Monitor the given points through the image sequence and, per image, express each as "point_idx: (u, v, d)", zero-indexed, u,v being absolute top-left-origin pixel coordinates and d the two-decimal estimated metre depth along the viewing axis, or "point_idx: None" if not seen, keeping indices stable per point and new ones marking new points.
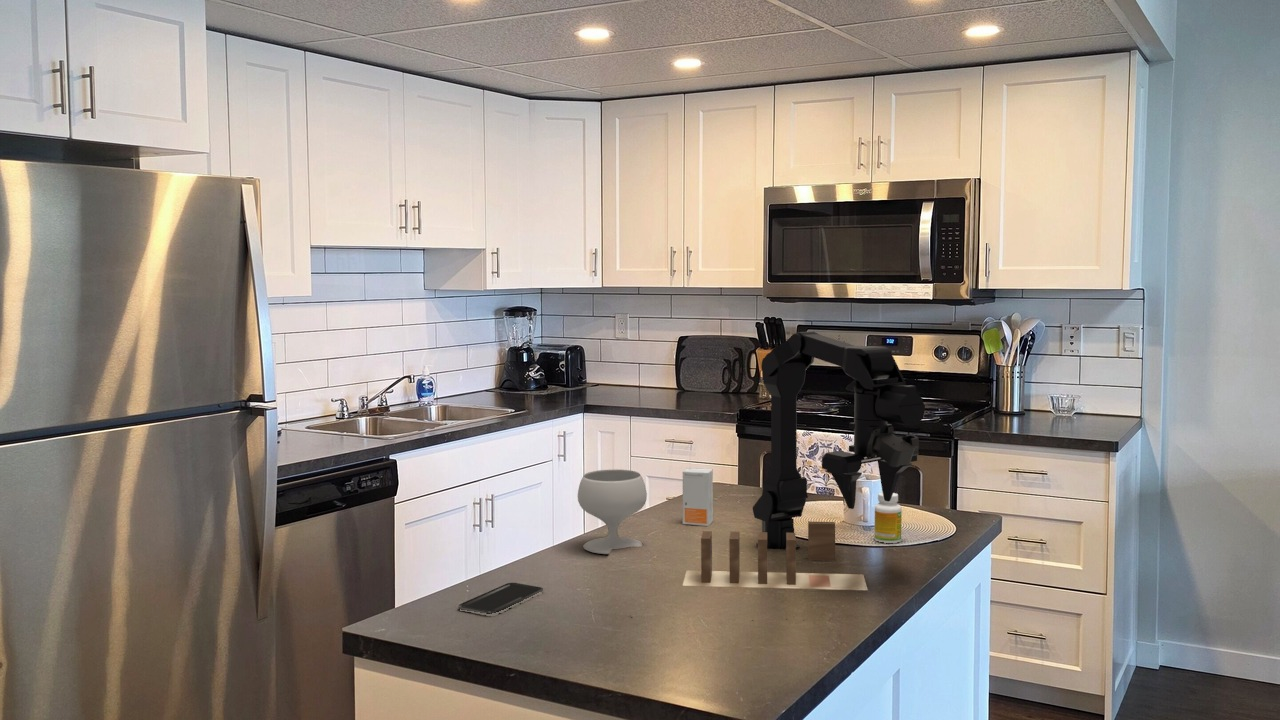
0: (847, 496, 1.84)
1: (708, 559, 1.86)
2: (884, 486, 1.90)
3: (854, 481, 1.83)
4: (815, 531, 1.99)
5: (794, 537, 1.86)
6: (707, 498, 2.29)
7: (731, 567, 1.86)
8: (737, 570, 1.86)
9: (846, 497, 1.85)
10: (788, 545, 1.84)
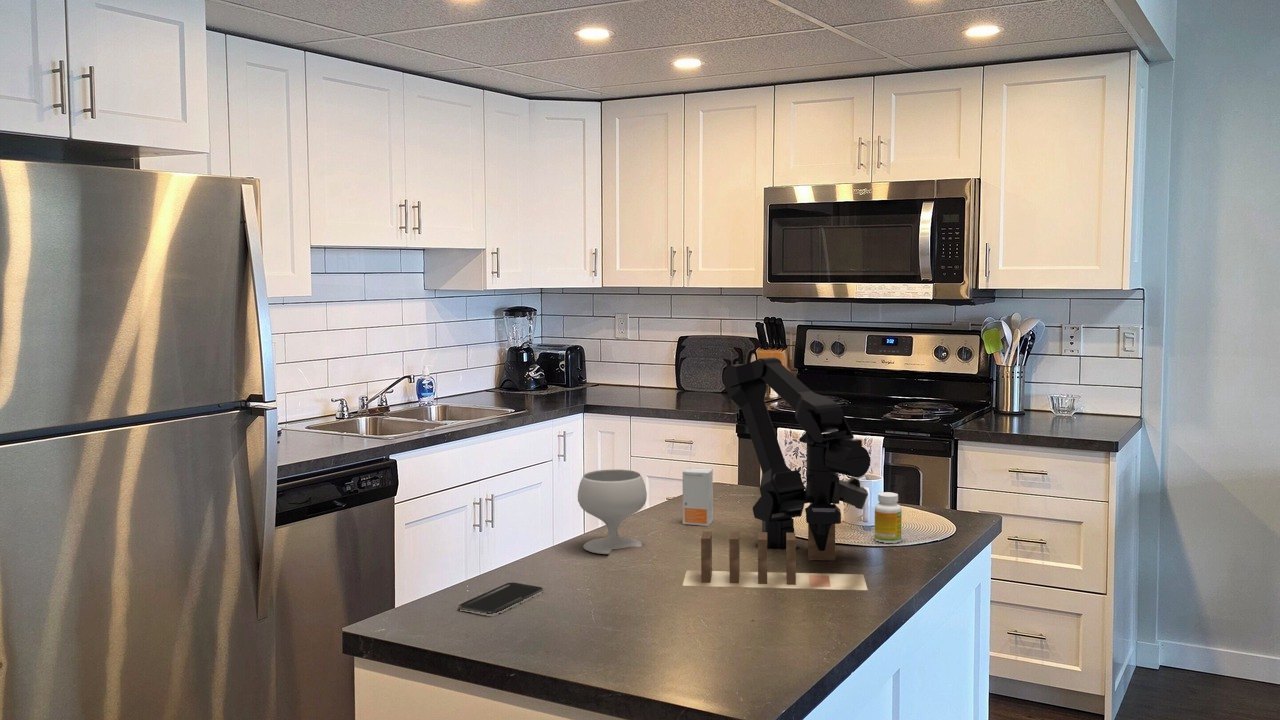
0: (821, 540, 1.98)
1: (708, 559, 1.86)
2: None
3: None
4: None
5: (794, 537, 1.86)
6: (707, 498, 2.29)
7: (731, 567, 1.86)
8: (737, 570, 1.86)
9: (819, 541, 1.98)
10: (788, 545, 1.84)
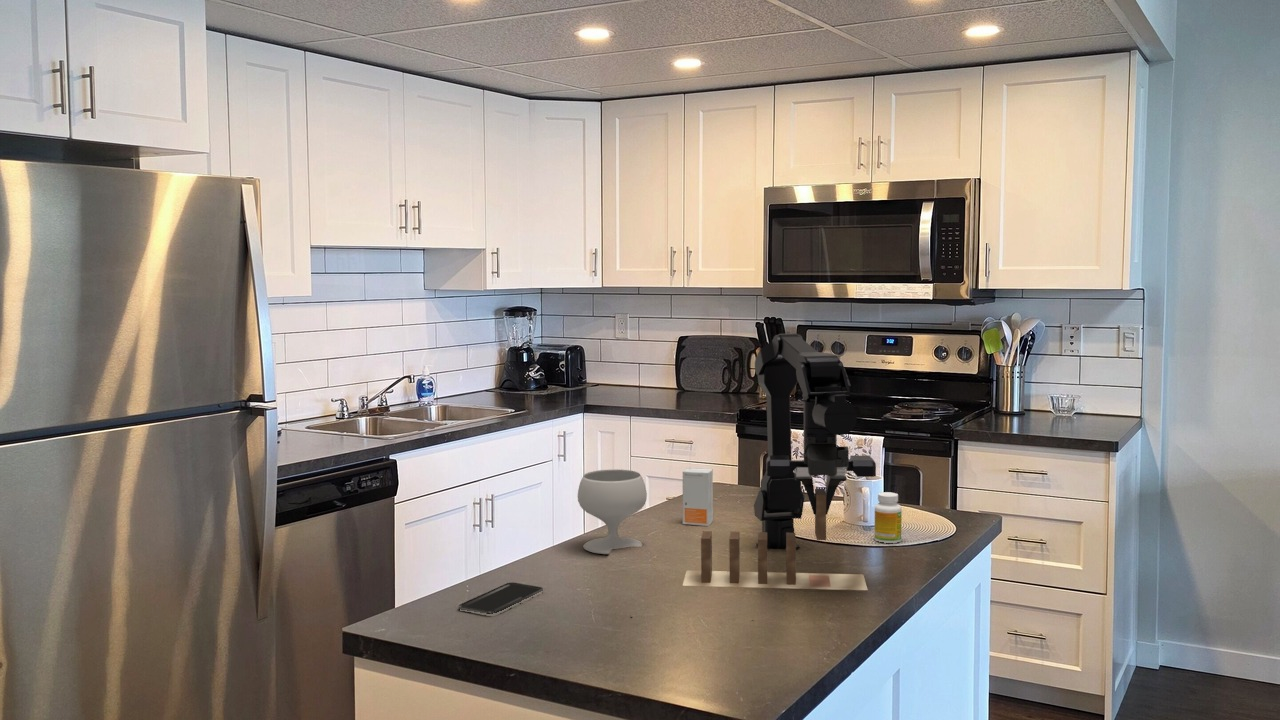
0: None
1: (708, 559, 1.86)
2: None
3: (810, 486, 1.84)
4: (815, 498, 1.86)
5: (794, 537, 1.86)
6: (707, 498, 2.29)
7: (731, 567, 1.86)
8: (737, 570, 1.86)
9: None
10: (788, 545, 1.84)
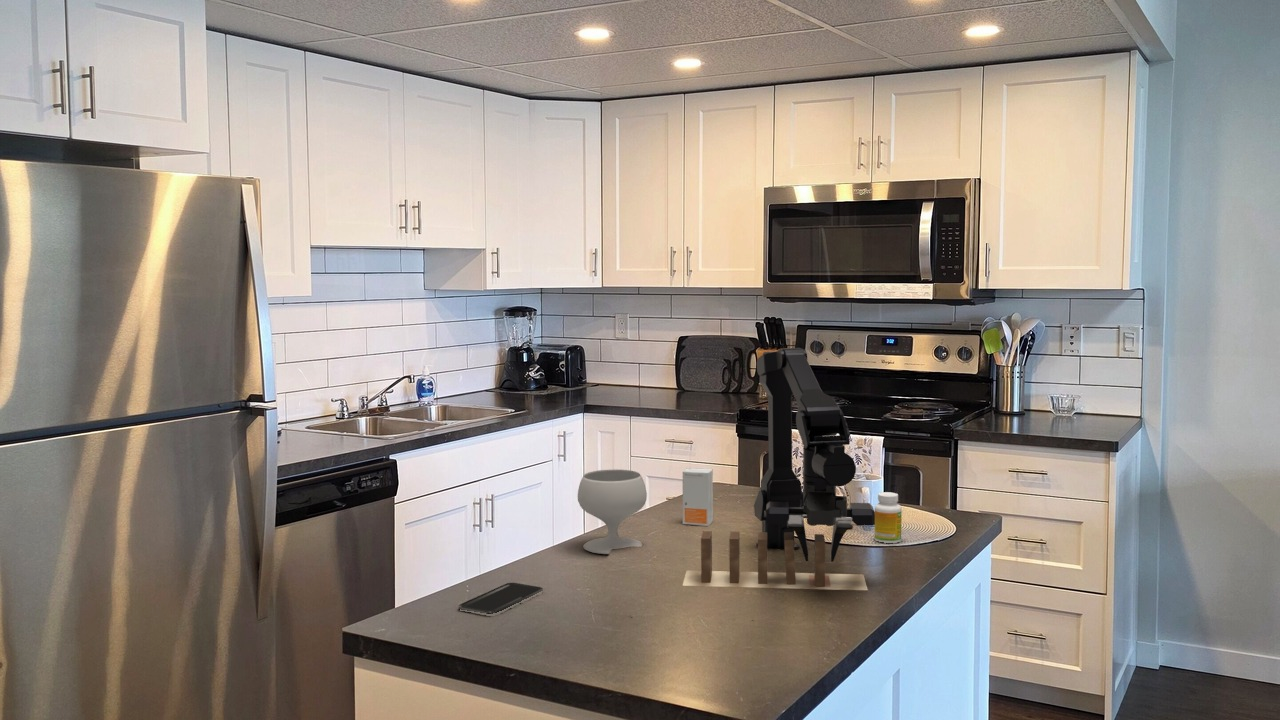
0: None
1: (708, 559, 1.86)
2: (831, 546, 1.87)
3: (802, 534, 1.85)
4: None
5: (792, 537, 1.86)
6: (707, 498, 2.29)
7: (731, 567, 1.86)
8: (737, 570, 1.86)
9: None
10: (786, 545, 1.84)
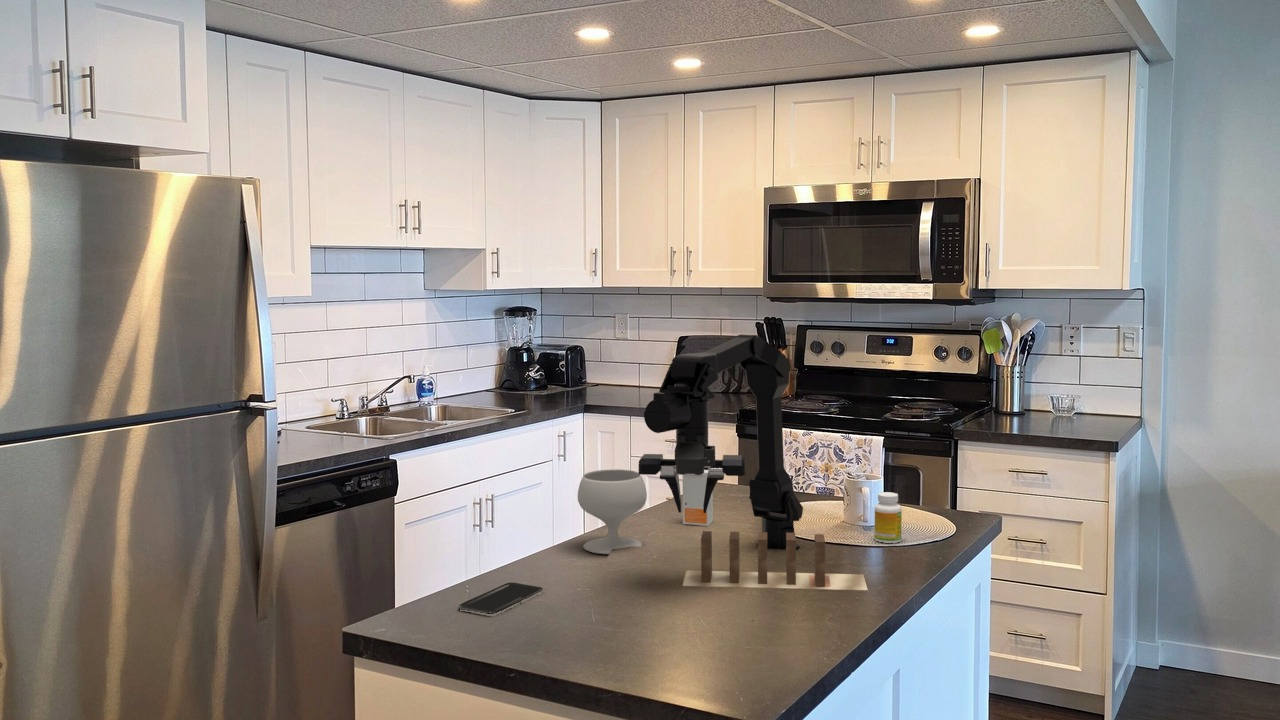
0: None
1: (708, 559, 1.86)
2: None
3: (674, 485, 1.86)
4: None
5: (794, 537, 1.86)
6: None
7: (731, 567, 1.86)
8: (737, 570, 1.86)
9: None
10: (788, 545, 1.84)
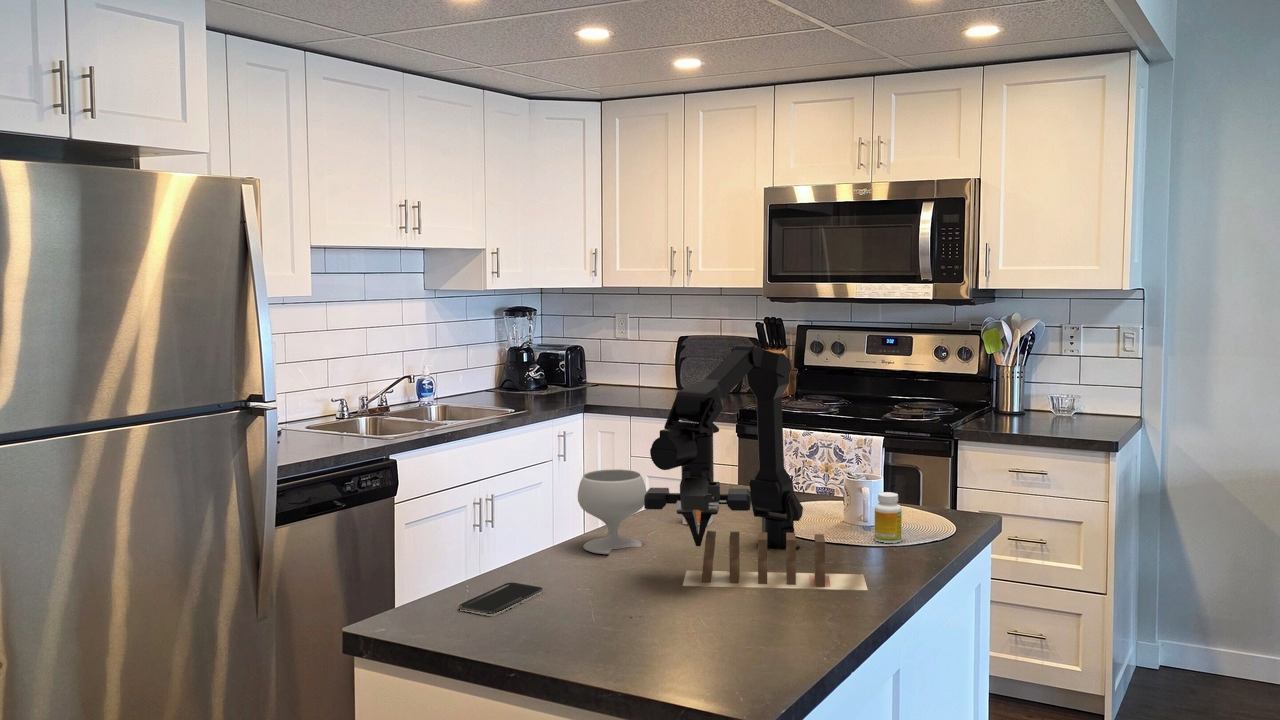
0: None
1: (710, 559, 1.86)
2: None
3: (691, 519, 1.87)
4: None
5: (794, 537, 1.86)
6: None
7: (731, 567, 1.86)
8: (737, 570, 1.86)
9: None
10: (788, 545, 1.84)
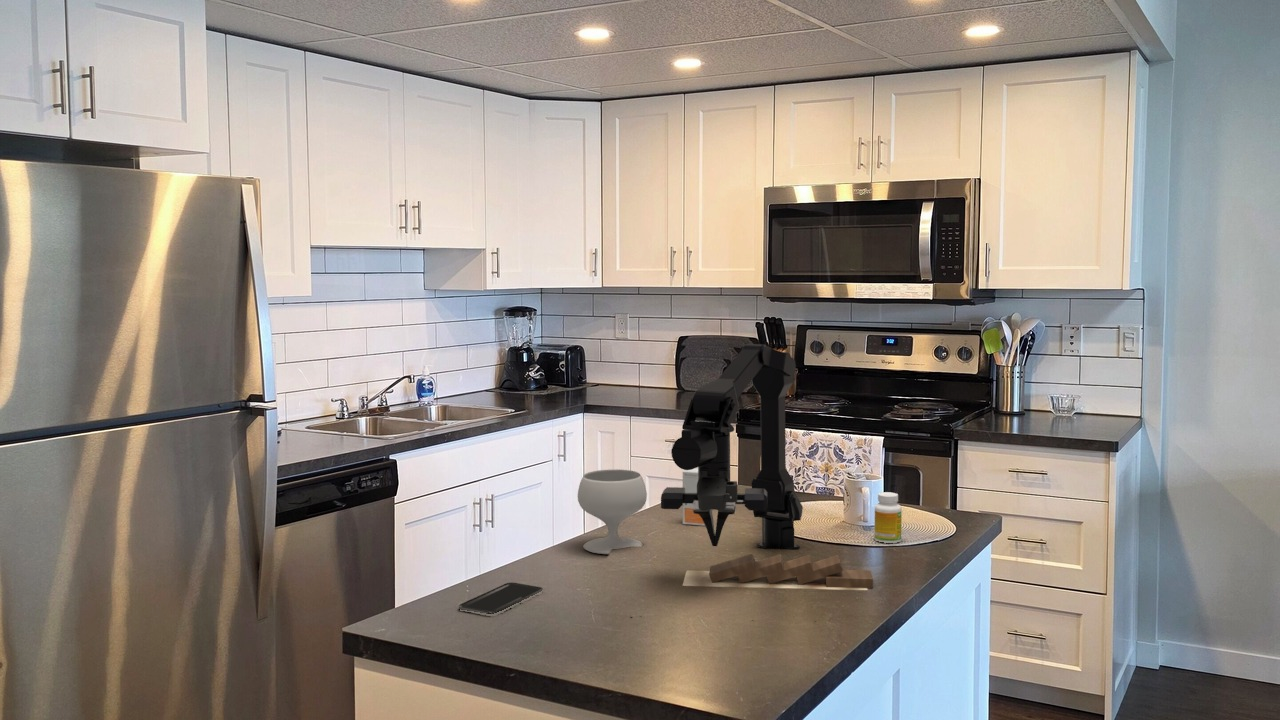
0: None
1: (734, 574, 1.86)
2: None
3: (708, 519, 1.87)
4: (862, 572, 1.86)
5: None
6: None
7: (753, 572, 1.86)
8: (752, 578, 1.86)
9: None
10: (835, 566, 1.84)
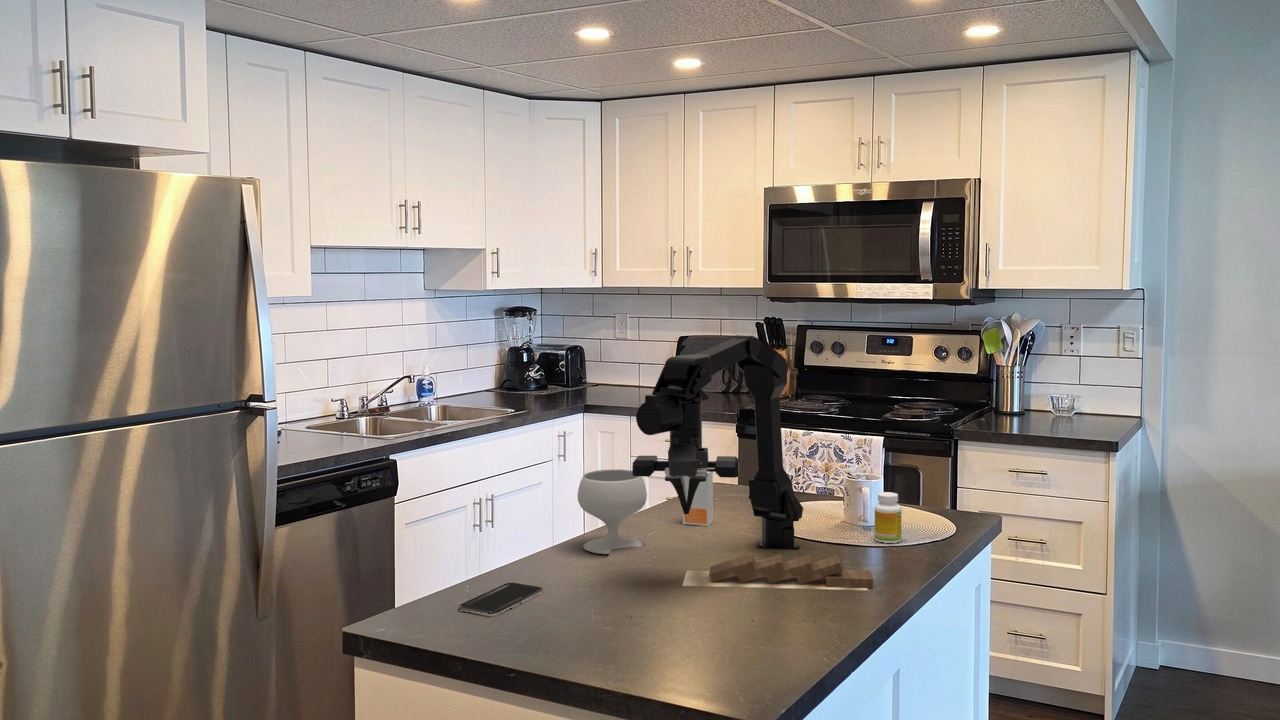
0: None
1: (734, 574, 1.86)
2: None
3: (679, 486, 1.87)
4: (862, 572, 1.86)
5: None
6: (707, 498, 2.29)
7: (753, 572, 1.86)
8: (752, 578, 1.86)
9: None
10: (835, 566, 1.84)
